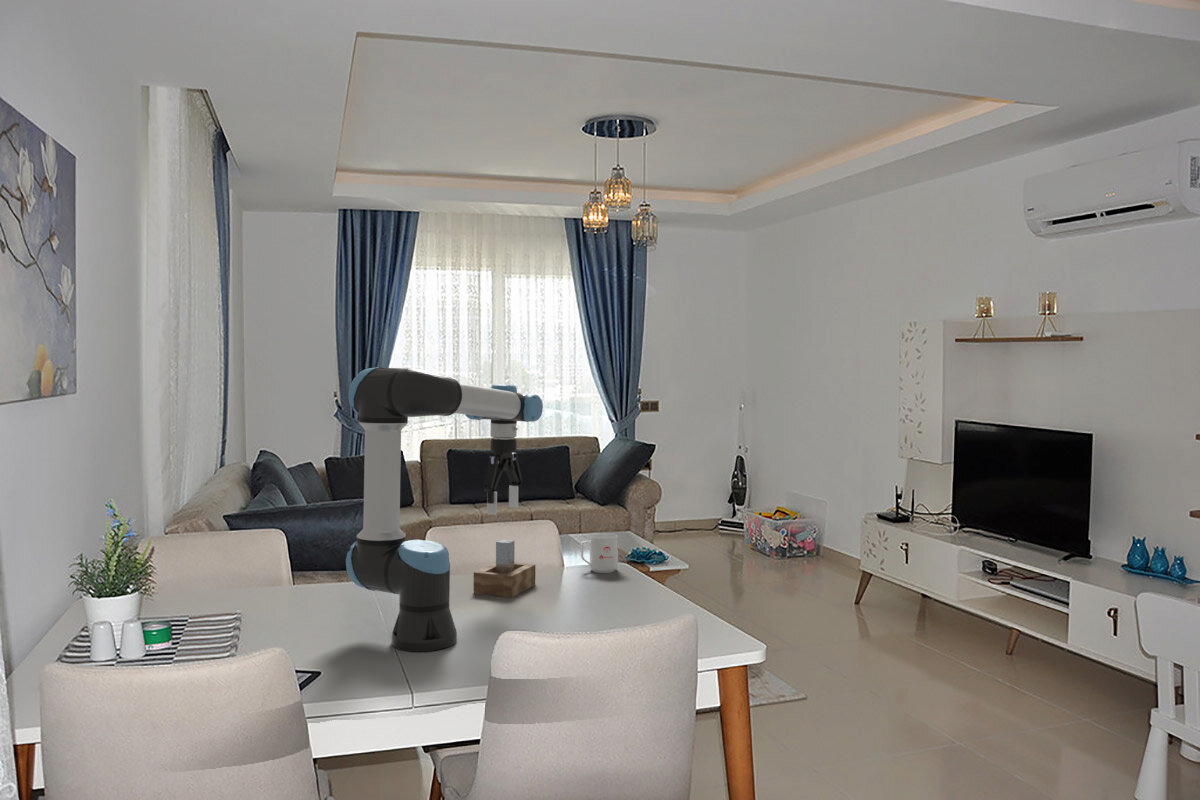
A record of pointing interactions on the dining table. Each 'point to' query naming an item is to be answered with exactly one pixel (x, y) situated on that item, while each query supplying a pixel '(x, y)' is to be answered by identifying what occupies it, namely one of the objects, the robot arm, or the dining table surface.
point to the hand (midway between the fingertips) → (503, 511)
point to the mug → (602, 552)
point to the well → (504, 580)
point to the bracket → (505, 556)
